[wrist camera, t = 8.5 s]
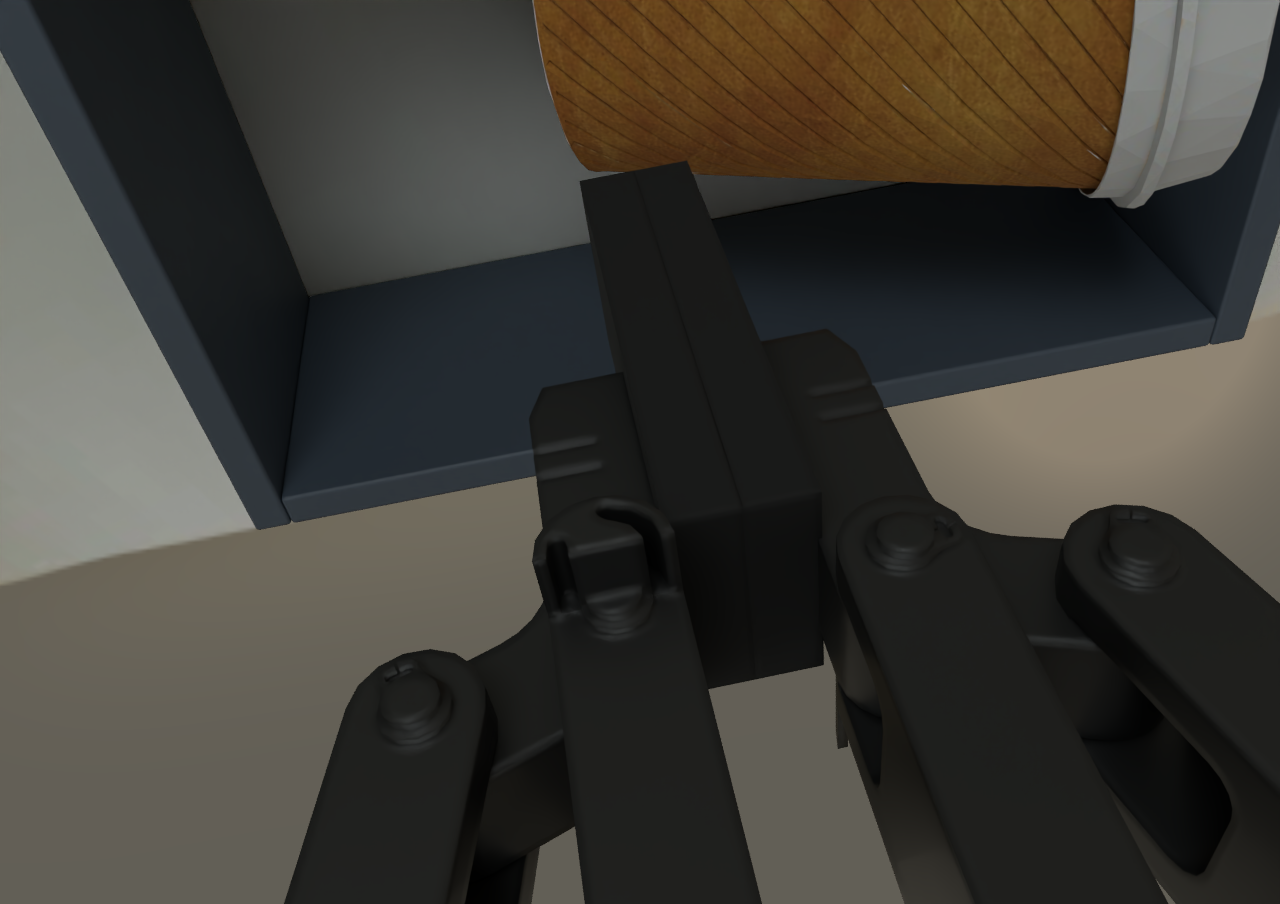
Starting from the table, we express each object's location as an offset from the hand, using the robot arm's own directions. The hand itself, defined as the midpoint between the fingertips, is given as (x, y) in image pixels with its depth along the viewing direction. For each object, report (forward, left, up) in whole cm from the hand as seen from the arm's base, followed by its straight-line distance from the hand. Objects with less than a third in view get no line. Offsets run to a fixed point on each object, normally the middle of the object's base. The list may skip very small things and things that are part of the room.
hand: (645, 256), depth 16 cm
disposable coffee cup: (0, 0, -9) cm, 9 cm away
